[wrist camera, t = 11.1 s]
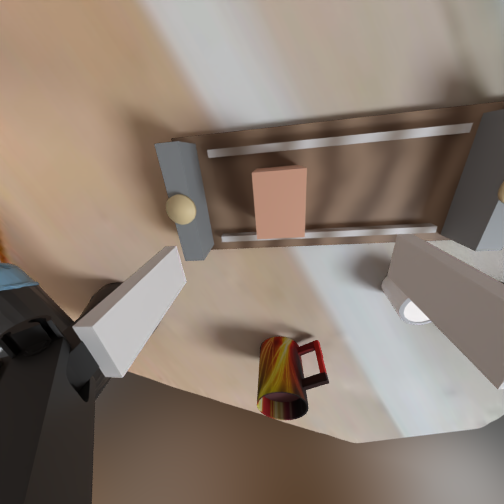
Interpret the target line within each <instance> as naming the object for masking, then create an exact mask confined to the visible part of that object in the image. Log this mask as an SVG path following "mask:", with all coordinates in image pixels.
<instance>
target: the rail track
mask: <svg viewBox="0 0 504 504" xmlns="http://www.w3.org/2000/svg"><path fill="white" fill-rule="evenodd" d="M501 109H504V101H502V102H493V103H484V104H475V105H466V106H457V107H448V108H439V109H430V110H421V111H412V112H403V113H395V114H386V115H377V116H368V117H359V118H350V119H341V120H332V121H323V122H314V123H305V124H296V125H288V126H279V127H270V128H261V129H252V130H243V131H234V132H225V133H216V134H207V135H198V136H190V137H181V138H172V139H171V140H172V142H175V141H180V142H186V143H193V144H196V149H197V154H198V160H199V165H200V170H201V176H202V181H203V187H204V192H205V197H206V203H207V208H208V214H209V219H210V224H211V230H212V235H213V241H214V245H213V247H212V249H211V250H213V249H237V248H262V247H287V246H312V245H337V244H362V243H387V242H396V238H397V235H398V234H413V235H415V236H417V237H419V238H421V239H422V240H424V241H436V240H451V239H449V238H446V237H444V236H442V235H440V234H441V231H442V228H443V226H444V223H445V220H446V217H447V214H448V211H449V209H450V206H451V203H452V200H453V197H454V195H455V192H456V189H457V186H458V183H459V180H460V178H461V175H462V172H463V169H464V166H465V164H466V161H467V158H468V155H469V152H470V149H471V147H472V144H473V141H474V138H475V135H476V133H477V130H478V127H479V124H480V121H481V118H482V116H483V113H486V112H491V111H496V110H501ZM291 165H300V166H303V167H305V168H307V184H306V214H305V237H298V238H276V239H257V232H256V220H255V207H254V195H253V182H252V172H253V171H254V170H256V169H257V168H269V167H280V166H291Z"/></svg>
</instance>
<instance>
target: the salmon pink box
mask: <svg viewBox="0 0 504 504" xmlns="http://www.w3.org/2000/svg"><path fill="white" fill-rule="evenodd" d="M252 182H253V195H254V207H255V220H256V232H257V239H276V238H298V237H305V214H306V184H307V168H305V167H303V166H300V165H291V166H280V167H269V168H257V169H256V170H254V171H253V172H252Z"/></svg>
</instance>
